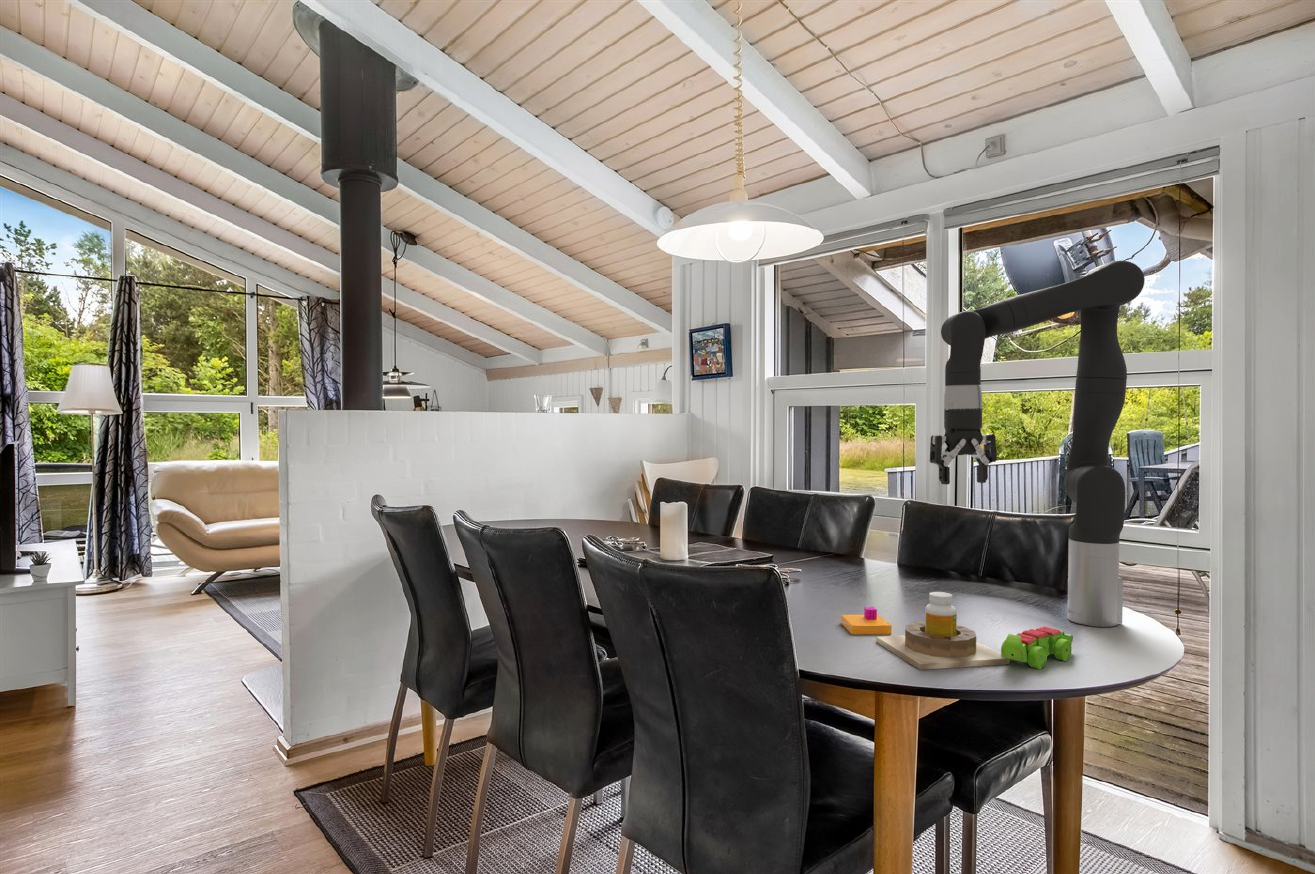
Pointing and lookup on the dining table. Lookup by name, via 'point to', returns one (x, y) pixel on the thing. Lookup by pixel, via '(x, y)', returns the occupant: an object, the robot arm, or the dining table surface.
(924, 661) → the flat beige square board
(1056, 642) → the toy crocodile
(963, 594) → the dining table surface
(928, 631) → the supplement bottle
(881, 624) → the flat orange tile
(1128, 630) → the dining table surface
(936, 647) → the wooden ring
